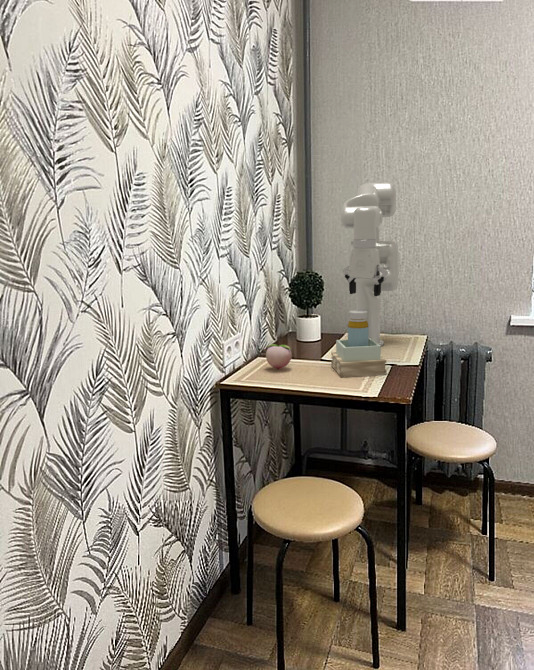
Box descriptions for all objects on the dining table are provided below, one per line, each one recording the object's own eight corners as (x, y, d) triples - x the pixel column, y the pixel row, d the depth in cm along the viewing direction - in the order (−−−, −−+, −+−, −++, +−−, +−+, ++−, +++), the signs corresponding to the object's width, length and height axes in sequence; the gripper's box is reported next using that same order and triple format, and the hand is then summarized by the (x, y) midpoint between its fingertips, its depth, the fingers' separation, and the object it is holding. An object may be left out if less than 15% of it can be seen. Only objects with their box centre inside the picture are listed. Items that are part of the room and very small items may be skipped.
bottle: (346, 355, 212) (346, 312, 209) (349, 351, 218) (349, 309, 215) (366, 356, 210) (366, 313, 207) (369, 352, 216) (369, 310, 213)
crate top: (336, 353, 220) (336, 340, 219) (370, 351, 221) (370, 338, 220) (344, 361, 207) (344, 347, 206) (380, 359, 209) (380, 345, 208)
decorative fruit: (263, 372, 216) (262, 344, 214) (267, 366, 224) (266, 339, 222) (290, 372, 215) (289, 344, 213) (293, 366, 223) (292, 339, 221)
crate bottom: (331, 366, 222) (331, 352, 221) (374, 363, 223) (374, 350, 222) (340, 377, 207) (340, 363, 206) (386, 374, 208) (386, 360, 207)
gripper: (337, 244, 211) (337, 294, 215) (381, 246, 200) (381, 298, 204) (349, 243, 217) (349, 291, 221) (393, 244, 206) (392, 295, 210)
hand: (364, 294), depth 212 cm, fingers open, 9 cm apart
